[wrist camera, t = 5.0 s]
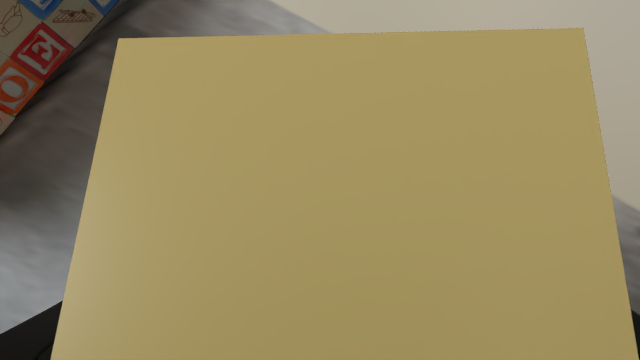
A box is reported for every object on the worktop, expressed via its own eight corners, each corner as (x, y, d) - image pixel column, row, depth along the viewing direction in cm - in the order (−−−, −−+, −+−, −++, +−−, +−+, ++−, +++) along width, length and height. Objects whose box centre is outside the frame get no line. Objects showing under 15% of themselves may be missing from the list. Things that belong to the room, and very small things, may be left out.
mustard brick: (414, 358, 14) (691, 670, 2) (287, 351, 14) (3, 581, 3) (411, 230, 15) (584, 27, 4) (295, 227, 16) (118, 38, 4)
